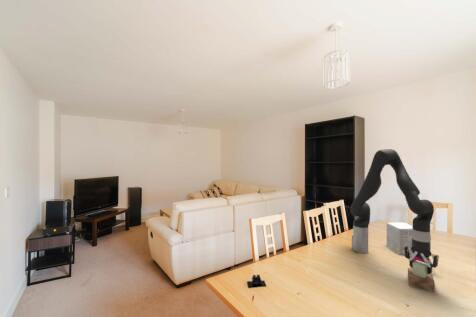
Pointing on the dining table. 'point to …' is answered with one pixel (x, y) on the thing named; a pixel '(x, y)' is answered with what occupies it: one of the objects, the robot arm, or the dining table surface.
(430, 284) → the walnut box
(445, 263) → the dining table surface
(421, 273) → the green block
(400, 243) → the supplement box
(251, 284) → the black irregular piece
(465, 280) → the dining table surface
